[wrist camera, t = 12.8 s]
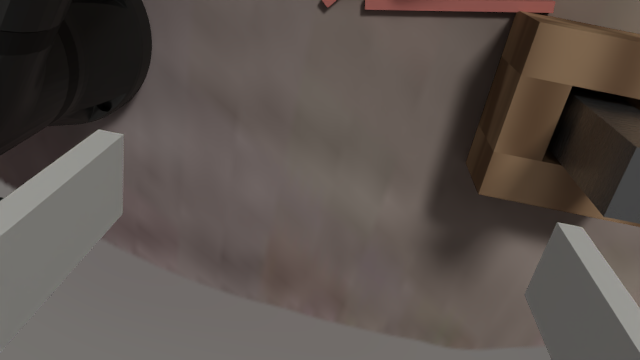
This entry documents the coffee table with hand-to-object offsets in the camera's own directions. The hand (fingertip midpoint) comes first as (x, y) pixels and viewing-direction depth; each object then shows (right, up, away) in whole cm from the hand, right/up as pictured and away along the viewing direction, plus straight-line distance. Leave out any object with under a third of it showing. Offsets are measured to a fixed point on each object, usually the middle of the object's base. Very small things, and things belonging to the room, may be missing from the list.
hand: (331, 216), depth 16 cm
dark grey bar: (+20, +7, +27) cm, 34 cm away
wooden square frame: (+20, +7, +27) cm, 34 cm away
